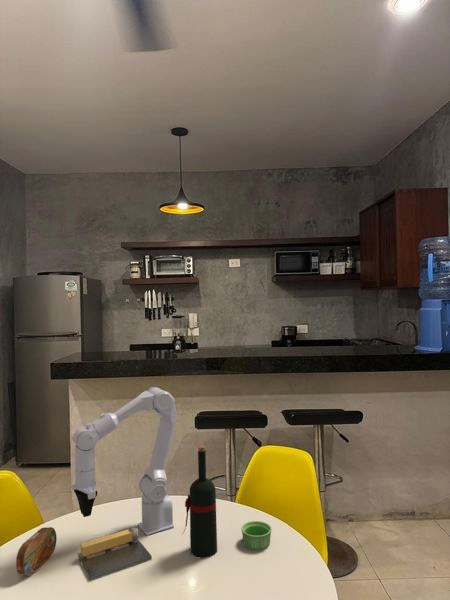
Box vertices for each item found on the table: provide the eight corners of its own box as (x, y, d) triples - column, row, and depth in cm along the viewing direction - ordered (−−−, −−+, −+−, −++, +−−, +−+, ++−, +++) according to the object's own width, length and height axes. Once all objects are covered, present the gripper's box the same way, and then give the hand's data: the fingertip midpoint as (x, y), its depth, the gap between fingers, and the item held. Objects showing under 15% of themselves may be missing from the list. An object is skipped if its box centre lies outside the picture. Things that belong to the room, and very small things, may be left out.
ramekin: (244, 533, 136) (243, 519, 136) (273, 536, 134) (272, 522, 134) (239, 549, 127) (238, 534, 127) (270, 552, 125) (269, 537, 126)
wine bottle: (185, 542, 132) (183, 442, 132) (219, 543, 131) (216, 442, 131) (179, 557, 124) (177, 450, 124) (215, 558, 123) (213, 451, 123)
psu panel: (135, 538, 134) (135, 534, 134) (151, 559, 123) (151, 554, 123) (78, 556, 125) (78, 551, 125) (90, 580, 114) (90, 575, 114)
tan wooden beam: (136, 534, 133) (135, 526, 133) (139, 538, 131) (139, 530, 131) (80, 551, 124) (80, 543, 124) (83, 556, 122) (83, 547, 122)
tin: (24, 582, 114) (24, 550, 114) (13, 581, 115) (13, 549, 115) (57, 550, 129) (57, 521, 129) (48, 549, 129) (47, 521, 129)
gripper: (65, 464, 135) (66, 508, 135) (77, 479, 123) (78, 528, 123) (88, 459, 139) (89, 502, 139) (102, 474, 126) (103, 521, 126)
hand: (85, 514), depth 131 cm, fingers closed
